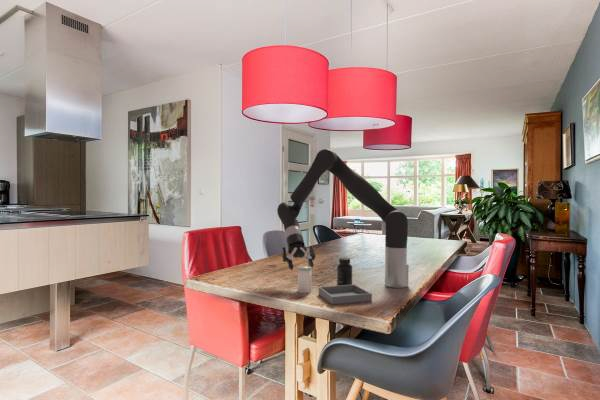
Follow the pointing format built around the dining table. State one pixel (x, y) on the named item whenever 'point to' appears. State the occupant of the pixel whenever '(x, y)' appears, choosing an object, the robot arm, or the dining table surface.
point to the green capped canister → (304, 279)
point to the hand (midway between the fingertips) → (301, 268)
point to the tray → (345, 294)
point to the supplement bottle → (344, 272)
